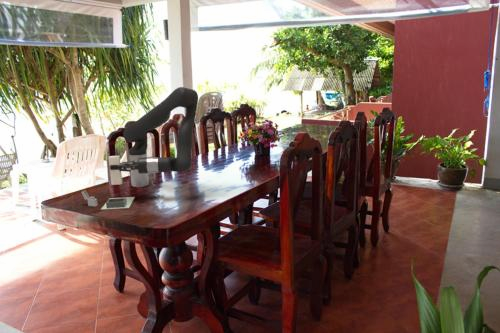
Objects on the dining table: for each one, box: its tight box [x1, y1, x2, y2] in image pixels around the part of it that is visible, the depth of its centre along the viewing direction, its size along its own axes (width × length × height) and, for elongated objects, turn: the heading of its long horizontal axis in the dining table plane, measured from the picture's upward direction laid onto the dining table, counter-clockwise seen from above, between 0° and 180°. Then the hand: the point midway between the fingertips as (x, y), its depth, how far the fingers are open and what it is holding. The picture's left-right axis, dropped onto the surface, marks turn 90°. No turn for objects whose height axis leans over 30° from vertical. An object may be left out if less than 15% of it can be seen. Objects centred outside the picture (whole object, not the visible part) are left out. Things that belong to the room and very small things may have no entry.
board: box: [101, 196, 135, 210], centre depth 202 cm, size 18×12×4 cm, turn 6°
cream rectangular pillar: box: [108, 147, 123, 186], centre depth 204 cm, size 3×4×17 cm, turn 96°
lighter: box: [81, 189, 99, 207], centre depth 199 cm, size 7×2×8 cm, turn 69°
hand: (111, 166), depth 204 cm, fingers closed on cream rectangular pillar, 2 cm apart
